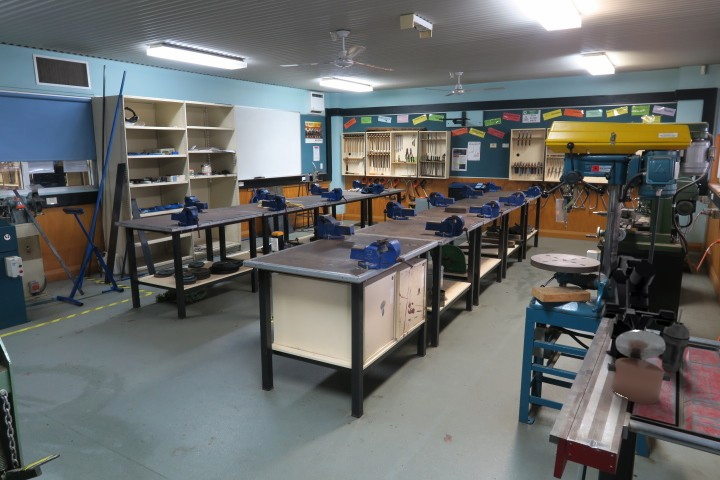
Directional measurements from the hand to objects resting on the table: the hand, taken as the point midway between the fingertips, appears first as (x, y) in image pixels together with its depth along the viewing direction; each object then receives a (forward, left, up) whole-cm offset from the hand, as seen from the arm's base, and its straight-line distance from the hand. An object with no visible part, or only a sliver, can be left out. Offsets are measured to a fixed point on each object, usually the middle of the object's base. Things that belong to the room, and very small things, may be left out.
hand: (638, 340), depth 140 cm
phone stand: (+30, +14, -14) cm, 36 cm away
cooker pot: (-3, -5, -14) cm, 15 cm away
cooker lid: (-2, -3, 0) cm, 3 cm away
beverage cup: (+21, +5, -14) cm, 26 cm away
